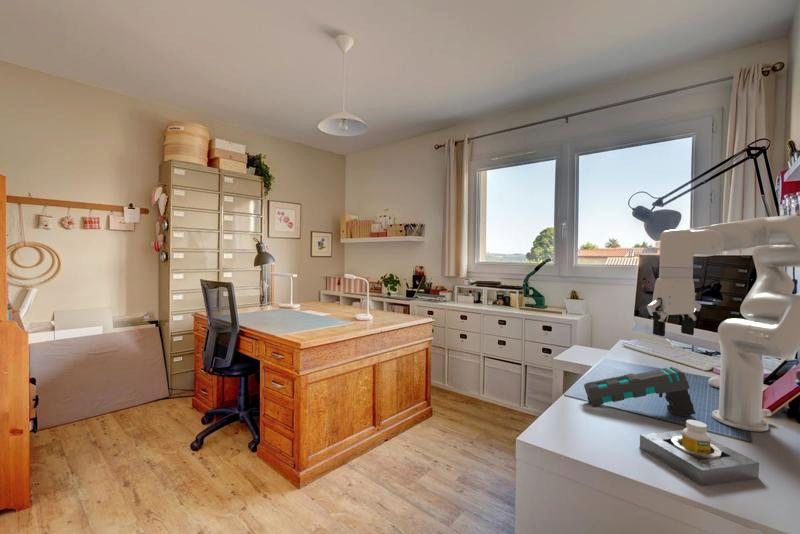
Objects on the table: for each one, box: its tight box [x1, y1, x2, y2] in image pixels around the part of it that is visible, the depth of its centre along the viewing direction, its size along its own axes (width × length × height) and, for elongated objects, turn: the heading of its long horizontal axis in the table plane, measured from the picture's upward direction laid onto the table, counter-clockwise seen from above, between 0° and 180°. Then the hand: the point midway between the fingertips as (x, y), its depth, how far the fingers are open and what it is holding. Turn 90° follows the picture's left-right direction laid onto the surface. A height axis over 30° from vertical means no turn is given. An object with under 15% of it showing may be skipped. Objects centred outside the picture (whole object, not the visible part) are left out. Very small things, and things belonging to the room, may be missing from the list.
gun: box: [583, 366, 696, 417], centre depth 119 cm, size 7×29×15 cm, turn 76°
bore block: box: [639, 429, 760, 487], centre depth 89 cm, size 16×16×4 cm
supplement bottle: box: [682, 419, 712, 454], centre depth 89 cm, size 5×5×10 cm
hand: (673, 334), depth 102 cm, fingers open, 9 cm apart
